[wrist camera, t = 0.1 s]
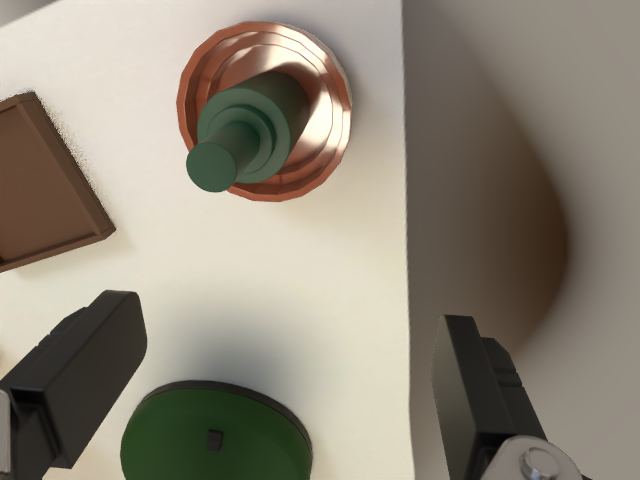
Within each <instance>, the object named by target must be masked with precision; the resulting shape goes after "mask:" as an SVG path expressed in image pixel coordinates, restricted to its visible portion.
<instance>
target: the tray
mask: <svg viewBox="0 0 640 480" xmlns="http://www.w3.org/2000/svg"><path fill="white" fill-rule="evenodd" d="M115 231H116V229H115V228H114V226H113V224H112V223H111V221H110V219H109V218H108V216H107V214H106V213H105V211H104V209H103V208H102V206H101V204H100V203H99V201H98V199H97V198H96V196H95V194H94V192H93V191H92V189H91V187H90V186H89V184H88V182H87V181H86V179H85V177H84V176H83V174H82V172H81V171H80V169H79V167H78V166H77V164H76V162H75V161H74V159H73V157H72V156H71V154H70V152H69V151H68V149H67V147H66V146H65V144H64V142H63V141H62V139H61V137H60V136H59V134H58V132H57V131H56V129H55V127H54V126H53V124H52V122H51V121H50V119H49V117H48V116H47V114H46V112H45V110H44V109H43V107H42V105H41V104H40V102H39V100H38V99H37V97H36V95H35V94H34V92H30V93H25V94H20V95H15V96H13V97H11V98H9V99H6V100H4V101H2V102H0V273H2V272H5V271H8V270H11V269H14V268H17V267H20V266H24V265H27V264H30V263H33V262H36V261H39V260H42V259H45V258H49V257H52V256H55V255H58V254H61V253H64V252H67V251H70V250H74V249H77V248H80V247H83V246H86V245H89V244H92V243H95V242H99V241H102V240H105V239H106V238H107V237H109V236H110V235H111V234H112V233H113V232H115Z"/></svg>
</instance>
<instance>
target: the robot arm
mask: <svg viewBox="0 0 640 480" xmlns="http://www.w3.org/2000/svg"><path fill="white" fill-rule="evenodd" d="M146 349H147V334H146V329H145V324H144V319H143V314H142V308H141V303H140V299H139V296H138V294H137V293H136V292H130V291H116V290H105V291H103V292H102V293H101V294H100V295H99V296H98V297H97V298H96V299H95V300H94V301H93V302H92V303H91V304H90V305H89V306H88V307H83V308H81V309H79V310H78V311H76V312H74V313H73V314H71V315H69V316H67V317H66V318H64V319H63V320H62V321H61V322H60V323H59V324H58V325H57V326H56V327H55V328H54V329H53V330H52V331H51V332H50V335H47V336H46V337H45V338H43V339H42V340H41V341H40V342H39V345H38V346H35V347H34V348H33V349H32V350H31V351H30V352H29V353H28V354H27V355H26V356H25V357H24V358H23V359H22V360H21V361H20V362H19V363H18V364H17V365H16V366H15V367H14V368H13V369H12V370H11V371H10V372H9V373H8V374H7V375H6V376H5V377H4V378H3V379H2V380H1V381H0V480H42V477H43V476H44V475H45V473H46V472H47V470H48V469H49V468H50V467H56V468H66V469H72V467H73V466H74V464H75V463H76V461H77V460H78V458H79V457H80V455H81V454H82V452H83V450H84V449H85V447H86V446H87V444H88V443H89V441H90V440H91V438H92V437H93V435H94V434H95V432H96V431H97V429H98V428H99V426H100V425H101V423H102V422H103V420H104V419H105V417H106V416H107V414H108V413H109V411H110V409H111V408H112V406H113V405H114V403H115V402H116V400H117V399H118V397H119V396H120V394H121V393H122V391H123V390H124V388H125V387H126V385H127V384H128V382H129V381H130V379H131V378H132V376H133V375H134V373H135V372H136V370H137V369H138V367H139V365H140V364H141V362H142V361H143V359H144V356H145V353H146ZM431 380H432V388H433V393H434V398H435V403H436V408H437V414H438V419H439V424H440V429H441V434H442V440H443V444H444V450H445V455H446V460H447V466H448V471H449V476H450V480H592V479H590V478H587V477H586V476H584V475H582V474H581V473H580V471H579V469H578V468H577V466H576V465H575V463H574V462H573V461H572V460H571V458H570V457H569V456H568V455H567V454H566V453H565V452H563V451H562V450H561V449H559V448H558V447H556V446H555V445H553V444H552V443H550V442H548V440H547V438H546V436H545V433H544V431H543V429H542V427H541V425H540V422H539V420H538V418H537V416H536V413H535V411H534V409H533V406H532V404H531V402H530V400H529V398H528V396H527V393H526V391H525V389H524V387H522V382H521V380H520V377H519V375H518V373H516V369H515V366H514V364H513V362H512V360H511V357H510V355H509V353H508V352H507V351H506V350H505V349H504V348H503V347H502V346H501V345H500V344H499V343H498V342H497V341H496V340H495V339H494V338H484V337H480V334H479V332H478V329H477V326H476V324H475V321H474V319H473V317H471V316H457V315H441V317H440V320H439V325H438V331H437V336H436V342H435V347H434V353H433V358H432V366H431Z"/></svg>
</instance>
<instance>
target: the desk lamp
mask: <svg viewBox="0 0 640 480" xmlns="http://www.w3.org/2000/svg"><path fill="white" fill-rule="evenodd" d="M120 458H121V465H122V470H123V473H124V476H125V478H126V480H310V473H311V465H312V448H311V443H310V440H309V437H308V435H307V432H306V430H305V429H304V427H303V426H302V424H301V423H300V422H299V420H298V419H297V418H296V417H295V416H294V415H293V414H292V413H291V412H290V411H288V410H287V409H286V408H285V407H284V406H282V405H280V404H279V403H277V402H275V401H274V400H272V399H270V398H269V397H266V396H264V395H262V394H259V393H257V392H255V391H252V390H250V389H246V388H243V387H239V386H235V385H232V384H227V383H220V382H213V381H184V382H176V383H171V384H168V385H165V386H163V387H160V388H157V389H155V390H154V391H153V392H151V393H150V394H148V395H147V396H146V397H145V398H144V399H143V400H142V401H141V403H140V404H139V405H138V406H137V408H136V410H135V411H134V413H133V415H132V416H131V418H130V420H129V422H128V424H127V427H126V429H125V432H124V434H123V437H122V441H121V451H120Z"/></svg>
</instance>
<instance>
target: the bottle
mask: <svg viewBox="0 0 640 480" xmlns="http://www.w3.org/2000/svg"><path fill="white" fill-rule="evenodd" d="M309 115H310V105H309V100H308V97H307V94H306V92H305V90H304V89H303V87H302V86H301V85H300V83H299V82H298V81H297V80H295V79H294V78H293V77H291V76H289V75H288V74H285V73H282V72H278V71H267V72H263V73H260V74H258V75H256V76H253V77H251V78H249V79H247V80H245V81H243V82H240V83H238V84H236V85H234V86H232V87H229V88H227V89H225V90H223V91H221V92H219V93H217V94H216V95H214V96H213V97H212V98H211V99H209V100H208V101H207V103H206V104H205V105H204V107H203V109H202V111H201V113H200V115H199V118H198V123H197V138H198V144H197V145H196V146H194V147H193V148H192V149H191V150H190V152H189V154H188V156H187V160H186V167H187V172H188V174H189V176H190V178H191V180H192V181H193V182H194V183H195V184H196V185H197V186H198V187H200V188H201V189H203V190H205V191H209V192H222V191H225V190H227V189H228V188H230V187H231V186H232V185H233V184H234V182H239V183H258V182H262V181H265V180H267V179H269V178H271V177H272V176H274V175H275V174H276V173H278V172H279V171H280V169H281V168H282V167H283V166H284V164H285V163H286V161H287V159H288V157H289V156H290V154H291V152H292V150H293V149H294V147H295V145H296V143H297V142H298V140H299V138H300V136H301V134H302V133H303V131H304V129H305V127H306V125H307V123H308V120H309Z"/></svg>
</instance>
